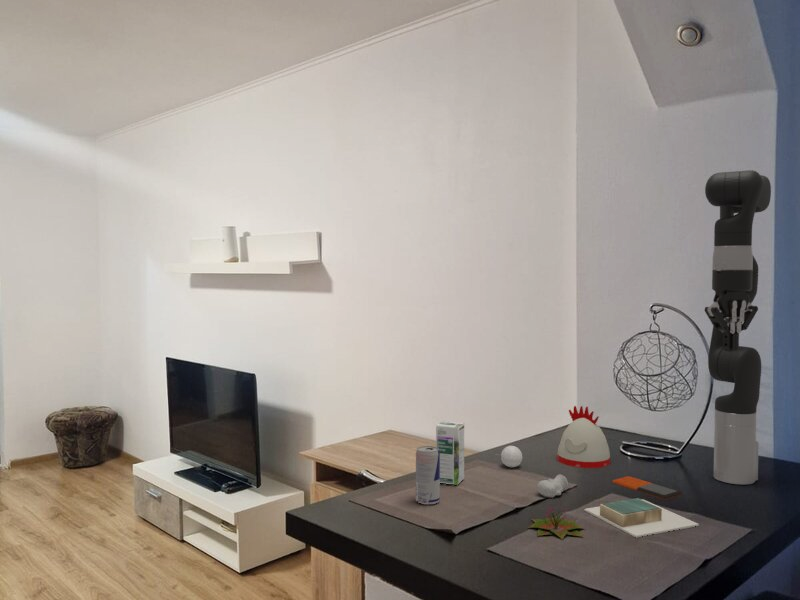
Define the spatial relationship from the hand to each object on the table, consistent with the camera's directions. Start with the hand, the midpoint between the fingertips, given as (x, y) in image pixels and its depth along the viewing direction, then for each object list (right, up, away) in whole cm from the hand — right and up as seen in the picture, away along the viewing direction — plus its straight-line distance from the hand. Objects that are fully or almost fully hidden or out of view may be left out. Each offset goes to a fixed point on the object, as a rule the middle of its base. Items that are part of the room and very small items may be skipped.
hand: (730, 351), depth 141 cm
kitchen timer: (-19, -34, +43) cm, 58 cm away
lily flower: (-38, -36, -5) cm, 52 cm away
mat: (-19, -35, 0) cm, 40 cm away
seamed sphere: (-40, -34, +38) cm, 65 cm away
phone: (-11, -35, +20) cm, 42 cm away
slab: (-17, -33, +1) cm, 37 cm away
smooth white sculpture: (-33, -35, +16) cm, 51 cm away
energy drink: (-63, -35, +11) cm, 73 cm away
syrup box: (-57, -34, +25) cm, 71 cm away
